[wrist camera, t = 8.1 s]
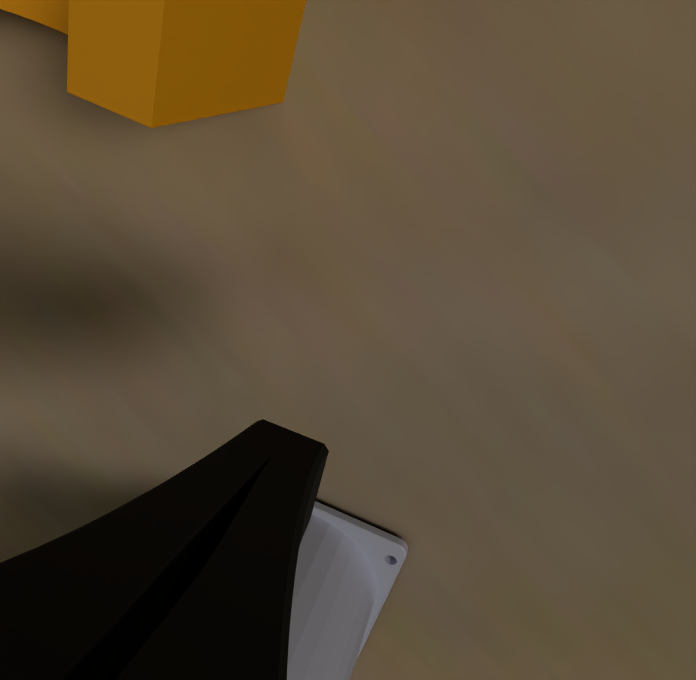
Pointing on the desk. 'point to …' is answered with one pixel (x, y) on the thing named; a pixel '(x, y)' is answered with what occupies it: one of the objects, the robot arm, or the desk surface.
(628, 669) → the desk surface
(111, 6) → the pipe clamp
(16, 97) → the desk surface
